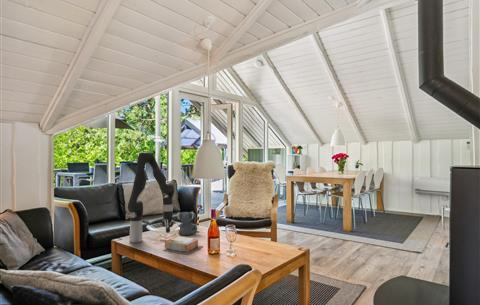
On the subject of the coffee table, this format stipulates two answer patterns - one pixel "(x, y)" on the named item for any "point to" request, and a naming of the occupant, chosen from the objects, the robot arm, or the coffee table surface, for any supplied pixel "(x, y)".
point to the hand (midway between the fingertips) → (167, 232)
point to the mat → (183, 251)
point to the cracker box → (181, 244)
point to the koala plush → (186, 223)
